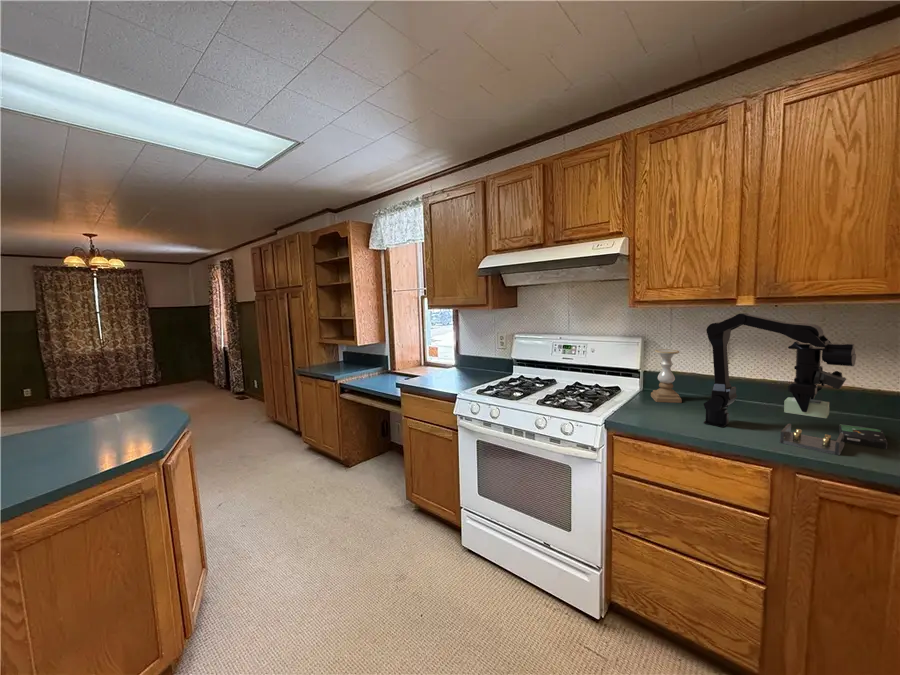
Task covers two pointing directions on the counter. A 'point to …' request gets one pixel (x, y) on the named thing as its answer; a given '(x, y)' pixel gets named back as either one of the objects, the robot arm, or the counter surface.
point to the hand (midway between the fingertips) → (806, 409)
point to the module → (814, 408)
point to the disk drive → (863, 436)
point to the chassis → (812, 441)
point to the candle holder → (666, 379)
